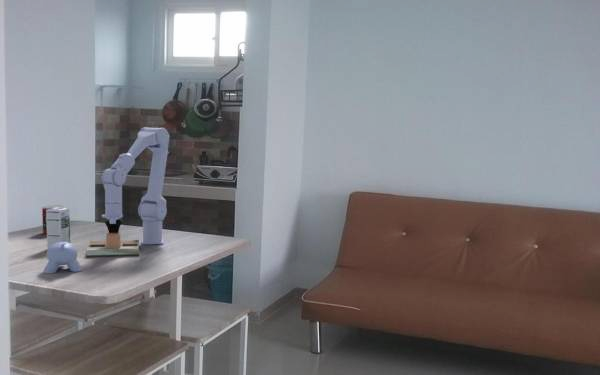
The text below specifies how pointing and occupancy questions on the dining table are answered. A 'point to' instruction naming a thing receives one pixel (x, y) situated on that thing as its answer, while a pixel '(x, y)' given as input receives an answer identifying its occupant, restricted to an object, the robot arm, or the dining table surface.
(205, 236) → the dining table surface
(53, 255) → the hippopotamus toy
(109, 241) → the terracotta cube
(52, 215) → the syrup box
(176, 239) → the dining table surface
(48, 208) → the canned food
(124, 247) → the board
